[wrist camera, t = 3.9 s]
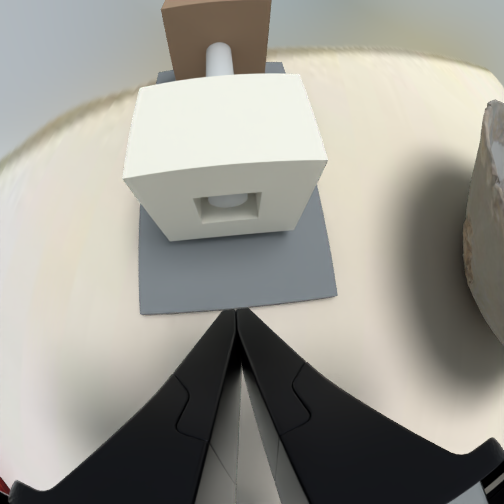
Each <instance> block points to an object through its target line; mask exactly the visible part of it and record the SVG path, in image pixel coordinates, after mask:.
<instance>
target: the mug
mask: <svg viewBox="0 0 504 504" xmlns="http://www.w3.org/2000/svg"><path fill="white" fill-rule="evenodd" d="M0 491H2V492H4V493H6V494H8V495H9V493H10V489H9V487H8V486H7V485H6V483H5V482H4V481H3V480H2V478H1V477H0Z"/></svg>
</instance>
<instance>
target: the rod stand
mask: <svg viewBox="0 0 504 504" xmlns="http://www.w3.org/2000/svg"><path fill="white" fill-rule="evenodd" d="M270 11H271V0H165V2H164V4H163V6H162V8H161V12H162V17H163V22H164V27H165V32H166V37H167V42H168V46H169V51H170V56H171V60H172V65H173V70H170V71H164V72H159V73H158V77H157V82H156V84H162V83H167V82H173V81H179V80H186V79H194V78H202V77H211V76H222V75H237V74H267V73H278V74H286V73H285V70H284V67H283V64H282V62H266V55H267V43H268V33H269V22H270ZM247 199H248V195H247V193H244V194H232V195H221V196H211V197H208V202H209V203H210V204H211V205H213V206H215V207H221V208H229V207H235V206H238V205H241V204H243V203H244V202H246V201H247ZM335 296H338V295H337V288H336V282H335V275H334V269H333V263H332V257H331V252H330V246H329V241H328V235H327V230H326V225H325V220H324V215H323V211H322V206H321V201H320V197H319V192H318V188H317V184H316V186H315V188H314V190H313V192H312V194H311V197H310V199H309V201H308V203H307V205H306V207H305V209H304V211H303V213H302V215H301V217H300V219H299V221H298V223H297V225H296V227H295V229H294V230H289V231H277V232H265V233H254V234H242V235H231V236H221V237H210V238H200V239H190V240H180V241H169V240H168V238H167V237H166V236H165V235H164V233H163V232H162V231H161V229H160V228H159V227H158V226H157V224H156V223H155V222H154V220H153V219H152V218H151V216H150V215H149V214H148V213H147V211H146V210H145V209H144V207H143V206H142V205H141V203H140V221H139V302H140V314H142V315H152V314H172V313H188V312H202V311H215V310H227V309H238V308H248V307H258V306H267V305H276V304H285V303H293V302H301V301H309V300H316V299H323V298H330V297H335Z"/></svg>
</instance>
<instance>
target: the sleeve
mask: <svg viewBox="0 0 504 504" xmlns="http://www.w3.org/2000/svg"><path fill="white" fill-rule="evenodd" d="M327 162H328V158H327V154H326V151H325V147H324V144H323V141H322V137H321V134H320V131H319V128H318V125H317V122H316V119H315V116H314V113H313V110H312V107H311V104H310V101H309V98H308V96H307V93H306V90H305V87H304V85H303V82H302V79H301V77H300V74H278V73H267V74H237V75H222V76H211V77H202V78H194V79H186V80H179V81H173V82H167V83H162V84H156V85H151V86H146V87H142V88H140V89H139V93H138V97H137V101H136V105H135V110H134V114H133V119H132V124H131V129H130V134H129V139H128V145H127V151H126V157H125V164H124V171H123V178H122V179H123V180H124V182H125V183H126V184H127V186H128V187H129V188H130V190H131V191H132V192H133V194H134V195H135V197H136V198H137V199H138V201H139V202H140V203H141V205H142V206H143V207H144V209H145V210H146V211H147V213H148V214H149V215H150V216H151V218H152V219H153V220H154V222H155V223H156V224H157V226H158V227H159V228H160V229H161V231H162V232H163V233H164V235H165V236H166V237H167V238H168V240H169V241H180V240H190V239H200V238H210V237H221V236H231V235H242V234H254V233H265V232H277V231H289V230H294V229H295V227H296V225H297V223H298V221H299V219H300V217H301V215H302V213H303V211H304V209H305V207H306V205H307V203H308V201H309V199H310V197H311V194H312V192H313V190H314V188H315V186H316V184H317V182H318V180H319V178H320V176H321V174H322V172H323V170H324V168H325V166H326V164H327ZM244 193H247V195H248V199H247V201H246V202H244V203H243V204H241V205H238V206H235V207H229V208H221V207H215V206H213V205H211V204H210V203H209V202H208V197H211V196H221V195H232V194H244Z"/></svg>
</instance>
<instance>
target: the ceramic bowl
mask: <svg viewBox="0 0 504 504" xmlns="http://www.w3.org/2000/svg"><path fill="white" fill-rule="evenodd" d="M463 252H464V253H463V254H462V256H463V262H464V265H465V268H464V270H465V276H466V278H467V283H468V286H469V288H470V290H471V292H472V295H473V297H474V300H475V302H476V304H477V306H478V308H479V310H480V312H481V314H482V316H483V318H484V319H485V321H486V322H487V324H488V326H489V327H490V329H491V330H492V332H493V333H494V334H495V336H496V337H497V338H498V340H499V341H500V342H501V344H502V345H503V346H504V103H502V102H500V101H497V100H496V99H495V100H492V101H490V102H489V103H487V108H486V109H485V113H484V116H483V122H482V129H481V139H480V144H479V148H478V153H477V157H476V162H475V166H474V170H473V174H472V178H471V182H470V188H469V194H468V201H467V208H466V220H465V221H464V224H463Z"/></svg>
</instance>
